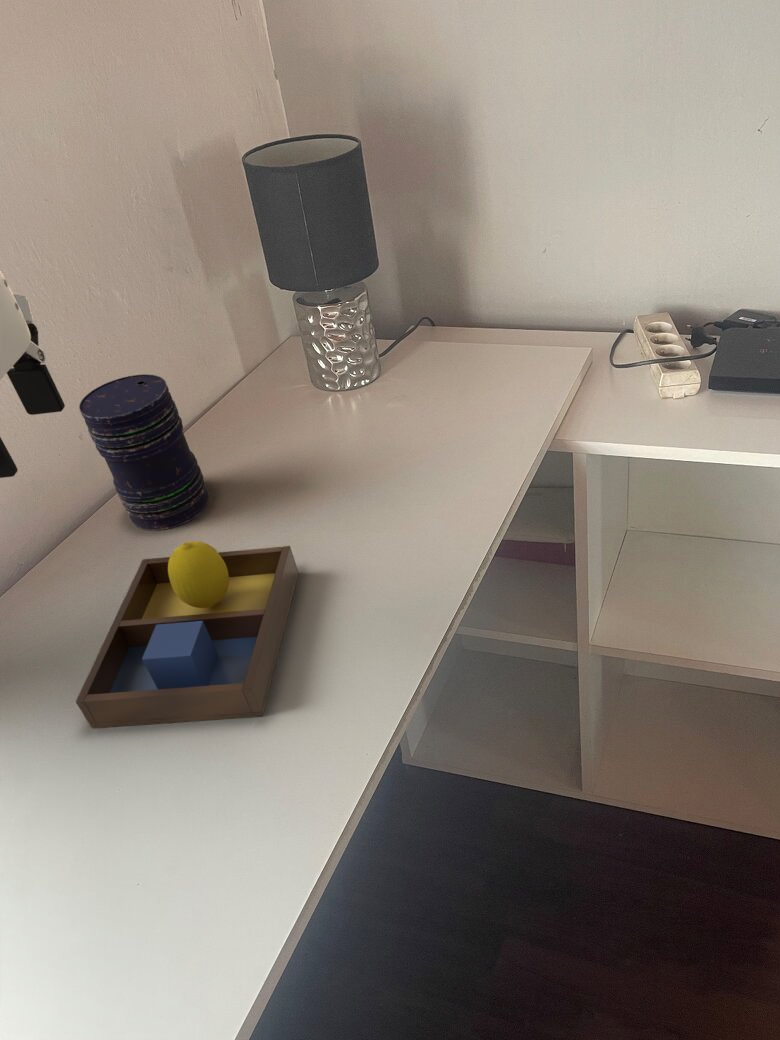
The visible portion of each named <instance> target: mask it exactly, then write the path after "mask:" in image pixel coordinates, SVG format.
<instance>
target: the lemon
mask: <svg viewBox="0 0 780 1040" xmlns="http://www.w3.org/2000/svg"><path fill="white" fill-rule="evenodd" d="M169 557H170V558H169V563H168V575H169V579H170V582H171V585H172V588H173V590H174V592H175V593H176V595H177V596H178V597H179V598H180V599H181V600H182V601H183V602H184V603H186V604H188V605H190V606H192V607H196V608H207V607H213V606H214V605H215V604H217V603H218V602H220V601H221V600H222V599H223V597H224V596H225V594H226V592H227V590H228V586H229V575H228V570H227V567H226V564H225V562H224V561H223V559H222V558H221V556H220V555H219V553H218V550H217V549H215V547H213V546H211V545H210V544H208V543H206V542H203V541H197V540H193V541H185V542H183V543H181V544H180V545H179V546H178V547H176V548H175V549H174V550H173V552H172V553H171V555H170V556H169Z"/></svg>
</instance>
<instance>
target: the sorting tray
mask: <svg viewBox="0 0 780 1040" xmlns="http://www.w3.org/2000/svg"><path fill="white" fill-rule="evenodd" d="M217 552H218V551H217ZM218 553H219V555H220V556H221V558H222V559H223V561H224V562H225V564H226V567H227V570H228V575H229V586H228V590H227V592H226V594H225V596H224V597H223V599H222V600H221V601H220V602H218V603H217V604H215V605H214V606H213V607H207V608H196V607H192V606H190V605H188V604H186V603H184V602H183V601H182V600H181V599H180V598H179V597H178V596H177V595H176V593H175V592H174V590H173V588H172V585H171V582H170V579H169V575H168V563H169V558H170V557H171V556H166V557H153V558H144V559H141V561H140V563H139V566H138V569H137V570H136V573H135V575H134V577H133V579H132V581H131V583H130V586H129V588H128V589H127V591H126V594H125V596H124V598H123V600H122V602H121V604H120V606H119V608H118V611H117V613H116V615H115V617H114V619H113V621H112V624H111V625H110V627H109V629H108V632H107V634H106V636H105V639H104V641H103V643H102V644H101V647H100V649H99V650H98V653H97V655H96V657H95V660H94V662H93V664H92V666H91V668H90V671H89V672H88V674H87V677H86V678H85V681H84V683H83V685H82V686H81V690H80V692H79V693H78V696H77V698H76V700H75V704H76V706H77V707H78V708H79V710H80V711H81V713H82V715H83V716H84V718H85V719H86V722H88V724H89V726H90V728H92V729H102V728H113V727H114V728H115V727H128V726H129V727H130V726H142V725H156V724H157V725H158V724H171V723H184V722H185V723H186V722H187V723H188V722H199V721H215V720H226V719H227V720H228V719H242V718H255V717H257V718H258V717H263V716H264V712H265V709H266V704H267V700H268V697H269V692H270V689H271V685H272V681H273V677H274V671H275V668H276V665H277V661H278V656H279V653H280V649H281V645H282V640H283V638H284V632H285V628H286V625H287V620H288V617H289V612H290V608H291V605H292V600H293V597H294V593H295V589H296V584H297V581H298V576H299V573H300V571H299V569H298V566H297V563H296V559H295V557H294V554H293V551H292V547H291V546H290V545H284V546H273V547H262V548H252V549H240V550H233V551H232V550H231V551H229V550H228V551H220V552H218ZM195 621H203V622H204V625H205V627H206V629H207V631H208V634H209V636H210V638H211V640H212V643H213V645H214V647H215V649H216V652H217V654H218V657H217V660H216V663H215V666H214V669H213V672H212V675H211V678H210V681H209V685H208V686H197V687H184V688H170V689H157V687H156V685H155V683H154V681H153V679H152V677H151V675H150V674H149V672H148V670H147V668H146V666H145V664H144V662H143V660H142V658H143V656H144V653H145V651H146V648H147V646H148V644H149V641H150V639H151V636H152V634H153V632H154V629H155V627H156V625H159V624H171V623H183V622H195Z"/></svg>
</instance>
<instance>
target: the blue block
mask: <svg viewBox="0 0 780 1040" xmlns="http://www.w3.org/2000/svg"><path fill="white" fill-rule="evenodd" d="M217 657H218V654H217V652H216V649H215V647H214V645H213V643H212V640H211V638H210V636H209V634H208V631H207V629H206V627H205V625H204V622H203V621H195V622H183V623H171V624H159V625H156V627H155V629H154V632H153V634H152V636H151V639H150V641H149V644H148V646H147V648H146V651H145V653H144V656H143V658H142V660H143V662H144V664H145V666H146V668H147V670H148V672H149V674H150V675H151V677H152V679H153V681H154V683H155V685H156V687H157V689H170V688H184V687H197V686H208V685H209V681H210V678H211V675H212V672H213V669H214V666H215V663H216V660H217Z"/></svg>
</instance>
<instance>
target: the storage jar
mask: <svg viewBox="0 0 780 1040" xmlns="http://www.w3.org/2000/svg"><path fill="white" fill-rule="evenodd" d="M78 405H79V406H78V408H79V409H78V410H79V412H80V415H81V417H82V418H83V419H84V423H85V425H86V428H87V430H88V434H89V436H90V438H91V440H92V442H93V443H94V444H95V449H96V451H97V452H98V453H99V455H100V457H102V458H103V459H104V460H105V462H106V465H107V467H108V469H109V471H110V473H111V475H112V478H113V480H112V481H113V482H112V483H113V486H114V488H115V489H114V490H115V491H116V493H117V495H118V497H119V500H120V502H121V504H122V506H123V507H124V508H125V510H126V512H127V513H128V516H129V519H130V521H131V523H132V524H133V525H134V526H135V528H138V529H141V530H144V531H152V532H153V531H155V532H156V531H165V530H168V529H169V530H170V529H173V528H176V527H179V526H182V525H184V524H186V523H189V522H190V521H192V520H194V518H196V517H197V516H199V515H200V514H201V513H203V511H204V510H205V509H206V508H207V506H208V504H209V503H210V493H209V490H208V488H207V487H206V483H205V480H204V475H203V472H202V469H201V466H200V465H199V464H198V459H197V458H196V455H195V454H194V452H193V451H191V449H190V446H189V443H188V441H187V439H186V436H185V433H184V431H183V430H184V425H183V420H182V417H181V416H180V414H179V410H178V407H177V405H176V401H174V399H173V397H172V394H171V392H170V390H169V386H168V384H167V381H166V379H164V378H163V377H161V376H159V375H155V374H148V373H147V374H144V373H143V374H141V373H140V374H134V375H128V376H127V375H126V376H124V377H120V378H116V379H113V380H111V381H107V382H106V383H103V384H101V385H99V386H98V387H95V388H94V389H92V390H91V391H89V392H88V393H87V394H86V395H85V396H84V397H83V398H82V399H81V401H80V403H79V404H78Z"/></svg>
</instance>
